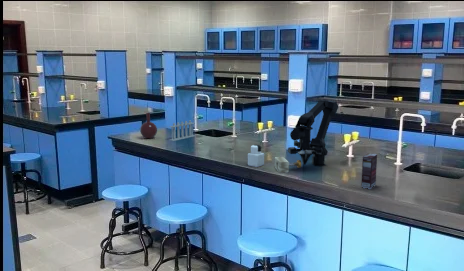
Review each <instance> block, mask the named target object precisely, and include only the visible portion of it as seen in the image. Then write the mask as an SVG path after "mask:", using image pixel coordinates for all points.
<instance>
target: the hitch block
mask: <svg viewBox="0 0 464 271" xmlns="http://www.w3.org/2000/svg"><path fill="white" fill-rule="evenodd" d="M289 163H290V162H289V161H288V160H287V159H286V158H285V157H284V156H279V157H278V156H277V157H276V156H275V157H274V167H273V168H275V170H276V171H277V172H278V173H280V174H283V173H284V174H285V173H286V174H287V173H289V170H290V166H289Z"/></svg>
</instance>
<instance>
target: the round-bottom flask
mask: <svg viewBox="0 0 464 271" xmlns="http://www.w3.org/2000/svg"><path fill="white" fill-rule="evenodd" d="M145 114H146V121H145V122H143V123H142V124H141V126H140V129H139V130H140V135H141V136H142V137H143V138H145V139H152V138H154V137H155V136H156V135H158V134H157V133H158V127H157V125H156V124H155V123H154V122H152V121H151V115H150V114H151V113H150V112H146V113H145Z"/></svg>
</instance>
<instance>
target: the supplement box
mask: <svg viewBox="0 0 464 271" xmlns="http://www.w3.org/2000/svg"><path fill="white" fill-rule="evenodd" d="M377 163H378V154H377V153H370V152H368V153H367V154H364V155H363V156H362V164H361V165H362V166H361V182H360V183H361V185H360V188H361V187H363V188H362V189H365V188H368V189H367V190H371V189H373V188H374V187H375V186H377V185H376V184H377V168H378V167H377V166H378V165H377ZM374 185H375V186H374ZM373 186H374V187H373ZM372 187H373V188H372Z"/></svg>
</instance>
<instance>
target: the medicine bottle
mask: <svg viewBox="0 0 464 271" xmlns="http://www.w3.org/2000/svg"><path fill="white" fill-rule="evenodd" d="M247 165H248V166H250V167H256V168H259V167H261V166H264V165H265V153H264V152H262V146H261V145H260V144H252V145H251V146H250V152H248V153H247Z"/></svg>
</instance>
